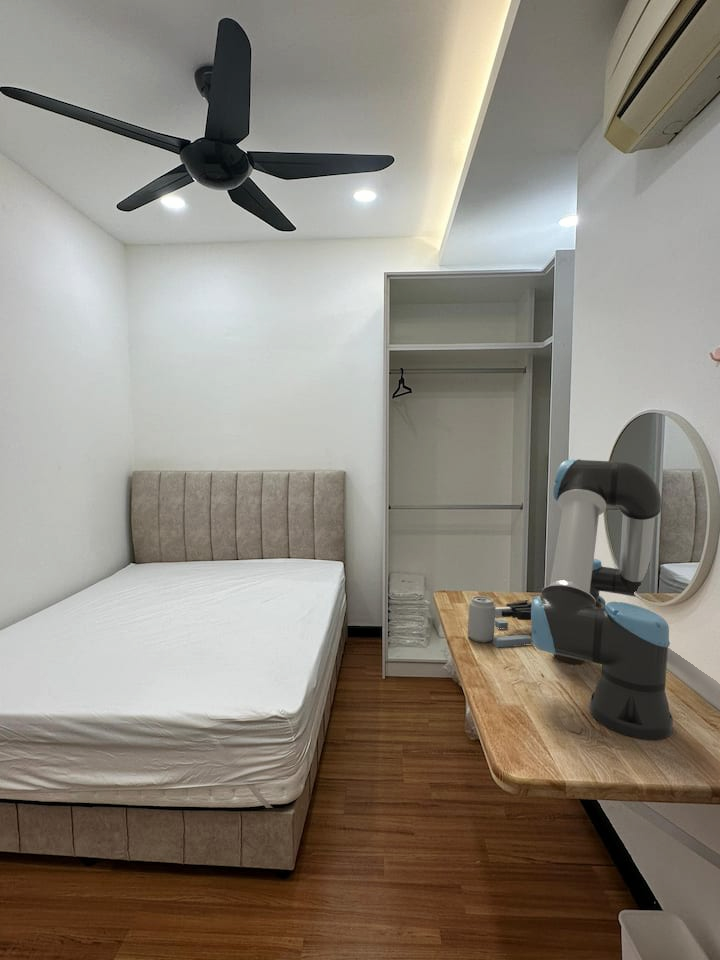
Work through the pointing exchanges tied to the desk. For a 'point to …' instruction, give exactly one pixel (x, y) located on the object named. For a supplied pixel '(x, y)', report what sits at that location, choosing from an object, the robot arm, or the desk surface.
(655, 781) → the desk surface
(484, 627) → the can
